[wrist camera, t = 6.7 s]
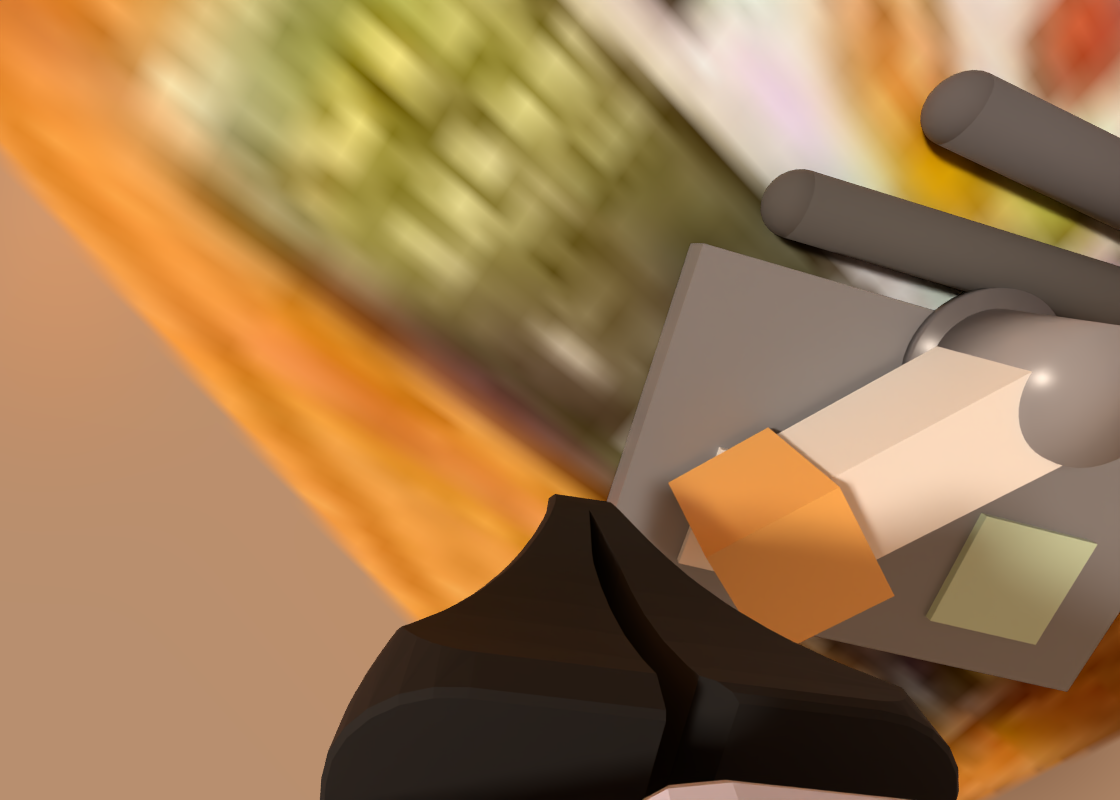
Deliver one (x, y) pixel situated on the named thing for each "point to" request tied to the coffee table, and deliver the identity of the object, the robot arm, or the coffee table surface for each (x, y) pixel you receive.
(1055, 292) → the dark grey rod
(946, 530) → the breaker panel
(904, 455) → the lever
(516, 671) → the robot arm
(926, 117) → the dark grey rounded rod
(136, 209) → the coffee table surface
